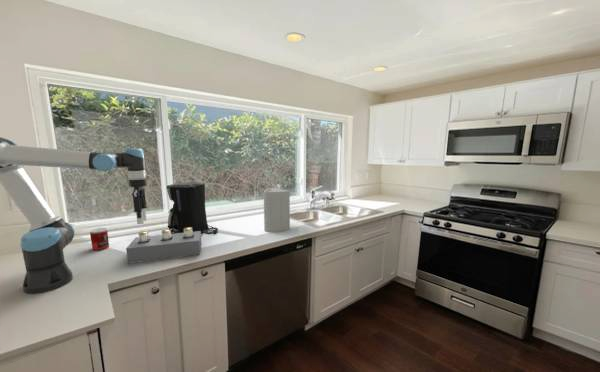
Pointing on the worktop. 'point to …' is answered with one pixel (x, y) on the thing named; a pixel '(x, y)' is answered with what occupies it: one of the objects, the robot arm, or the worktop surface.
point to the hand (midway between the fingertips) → (142, 222)
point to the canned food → (99, 239)
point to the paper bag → (276, 210)
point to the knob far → (188, 232)
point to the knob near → (143, 237)
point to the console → (164, 247)
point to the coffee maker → (188, 208)
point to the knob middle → (166, 234)
